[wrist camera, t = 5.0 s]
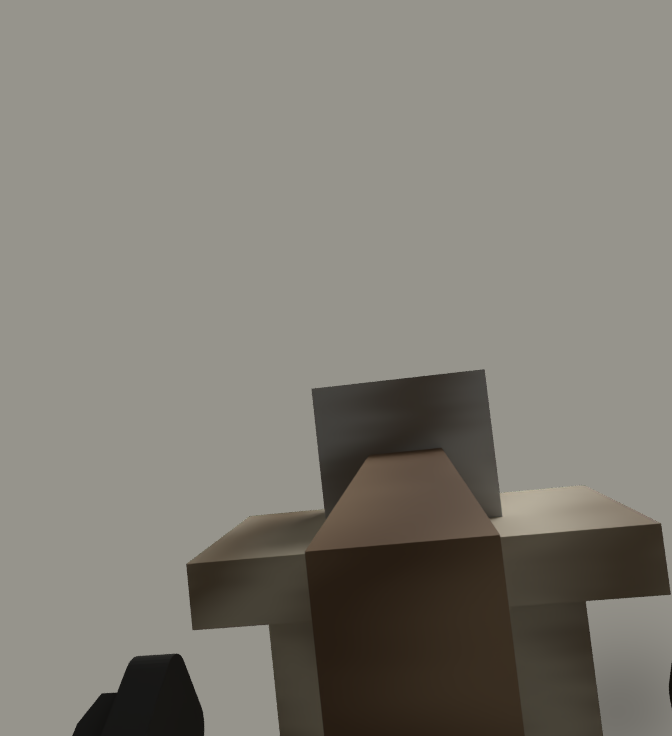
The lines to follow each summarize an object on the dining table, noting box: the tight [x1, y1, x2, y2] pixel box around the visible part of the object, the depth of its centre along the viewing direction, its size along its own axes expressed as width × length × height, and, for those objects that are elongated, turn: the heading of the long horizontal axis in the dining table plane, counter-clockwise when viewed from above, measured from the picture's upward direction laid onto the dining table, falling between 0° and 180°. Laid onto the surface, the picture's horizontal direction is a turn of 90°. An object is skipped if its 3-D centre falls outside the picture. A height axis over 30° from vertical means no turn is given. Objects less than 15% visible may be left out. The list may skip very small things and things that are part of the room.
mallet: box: [305, 370, 525, 736], centre depth 18 cm, size 6×19×5 cm, turn 174°
